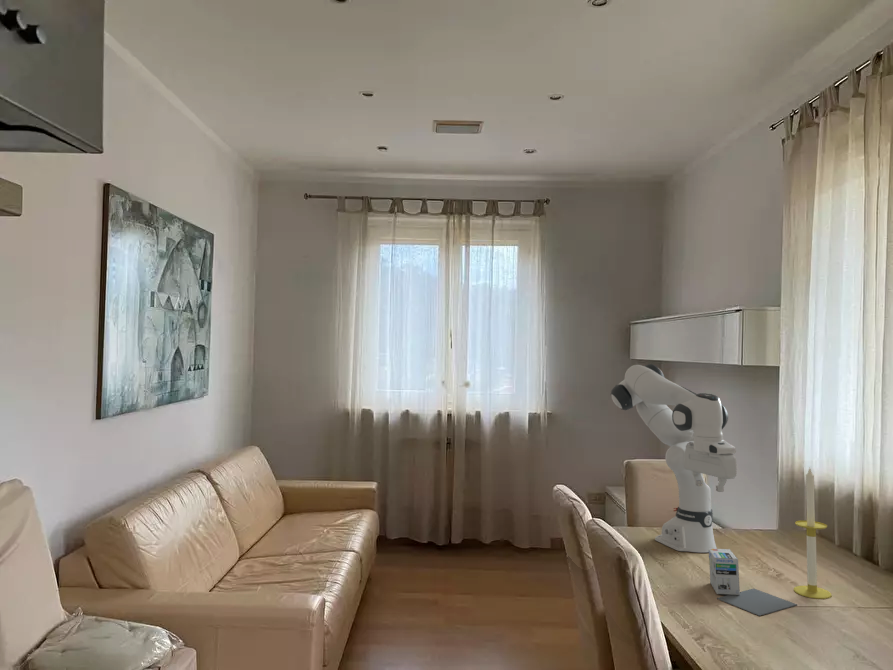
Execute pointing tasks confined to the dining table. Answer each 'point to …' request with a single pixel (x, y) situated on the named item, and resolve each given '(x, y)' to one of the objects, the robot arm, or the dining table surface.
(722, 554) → the light bulb box
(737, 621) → the dining table surface
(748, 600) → the mat
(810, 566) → the candle
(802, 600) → the dining table surface
